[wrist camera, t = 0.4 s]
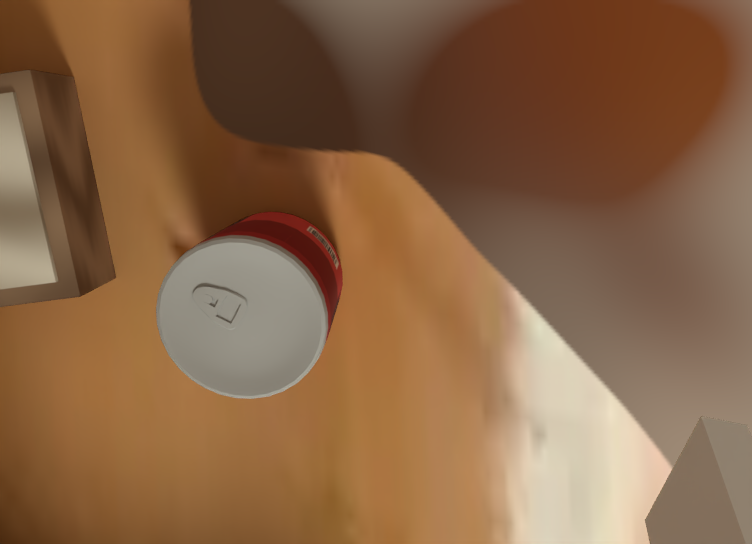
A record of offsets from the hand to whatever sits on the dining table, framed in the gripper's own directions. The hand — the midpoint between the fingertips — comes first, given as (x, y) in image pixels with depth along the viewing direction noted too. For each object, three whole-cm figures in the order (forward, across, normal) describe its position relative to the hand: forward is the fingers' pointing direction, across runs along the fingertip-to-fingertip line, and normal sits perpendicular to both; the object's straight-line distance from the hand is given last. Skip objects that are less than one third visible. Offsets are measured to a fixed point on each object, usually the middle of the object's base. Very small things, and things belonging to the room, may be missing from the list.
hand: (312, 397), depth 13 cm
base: (+26, +24, +13) cm, 37 cm away
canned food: (+26, +6, +15) cm, 31 cm away
